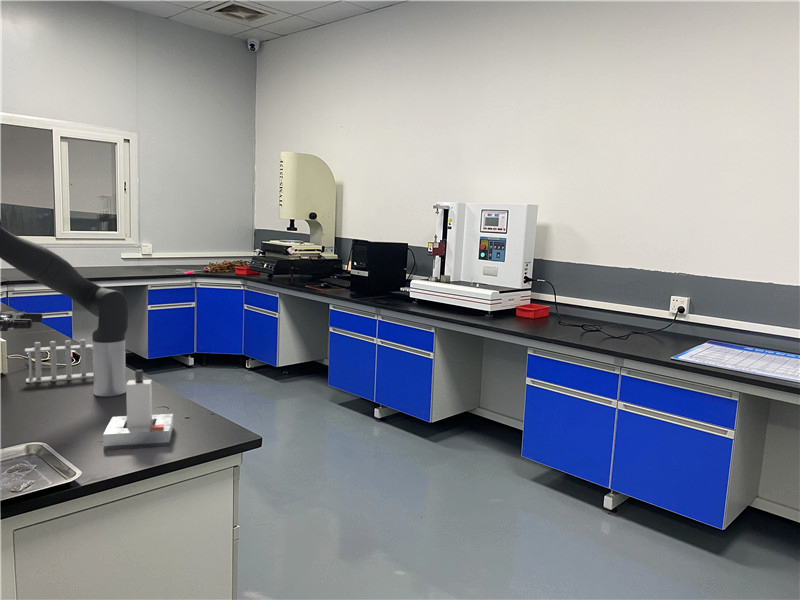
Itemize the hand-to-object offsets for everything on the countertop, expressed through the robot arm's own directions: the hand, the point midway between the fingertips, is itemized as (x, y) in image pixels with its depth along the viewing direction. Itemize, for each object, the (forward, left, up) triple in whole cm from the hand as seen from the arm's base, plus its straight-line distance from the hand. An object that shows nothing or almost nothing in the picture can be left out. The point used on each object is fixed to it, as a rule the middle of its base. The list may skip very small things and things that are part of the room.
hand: (37, 320), depth 148 cm
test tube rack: (-55, -6, -30) cm, 63 cm away
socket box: (+6, +24, -30) cm, 39 cm away
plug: (+6, +24, -29) cm, 38 cm away
